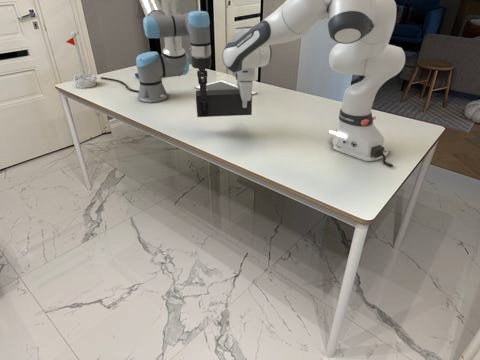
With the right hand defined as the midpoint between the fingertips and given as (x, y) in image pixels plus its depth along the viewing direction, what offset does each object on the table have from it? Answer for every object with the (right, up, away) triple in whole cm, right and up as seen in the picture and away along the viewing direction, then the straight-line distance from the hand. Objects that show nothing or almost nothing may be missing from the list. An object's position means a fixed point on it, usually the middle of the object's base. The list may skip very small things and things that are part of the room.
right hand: (243, 103), depth 142 cm
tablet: (-10, +20, +54) cm, 58 cm away
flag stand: (-94, +25, +63) cm, 116 cm away
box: (-8, -4, +1) cm, 9 cm away
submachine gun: (-55, +40, +84) cm, 108 cm away
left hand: (-16, -4, 0) cm, 17 cm away
